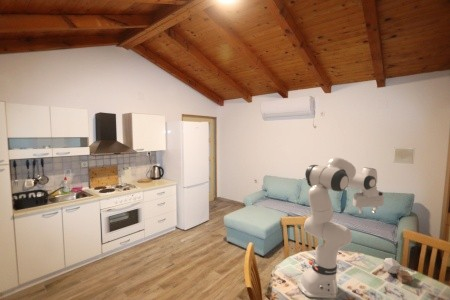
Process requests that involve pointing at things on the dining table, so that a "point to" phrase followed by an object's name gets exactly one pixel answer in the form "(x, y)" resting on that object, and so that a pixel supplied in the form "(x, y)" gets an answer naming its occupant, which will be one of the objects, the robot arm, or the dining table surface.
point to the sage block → (411, 274)
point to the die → (391, 265)
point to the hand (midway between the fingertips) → (367, 212)
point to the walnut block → (404, 277)
